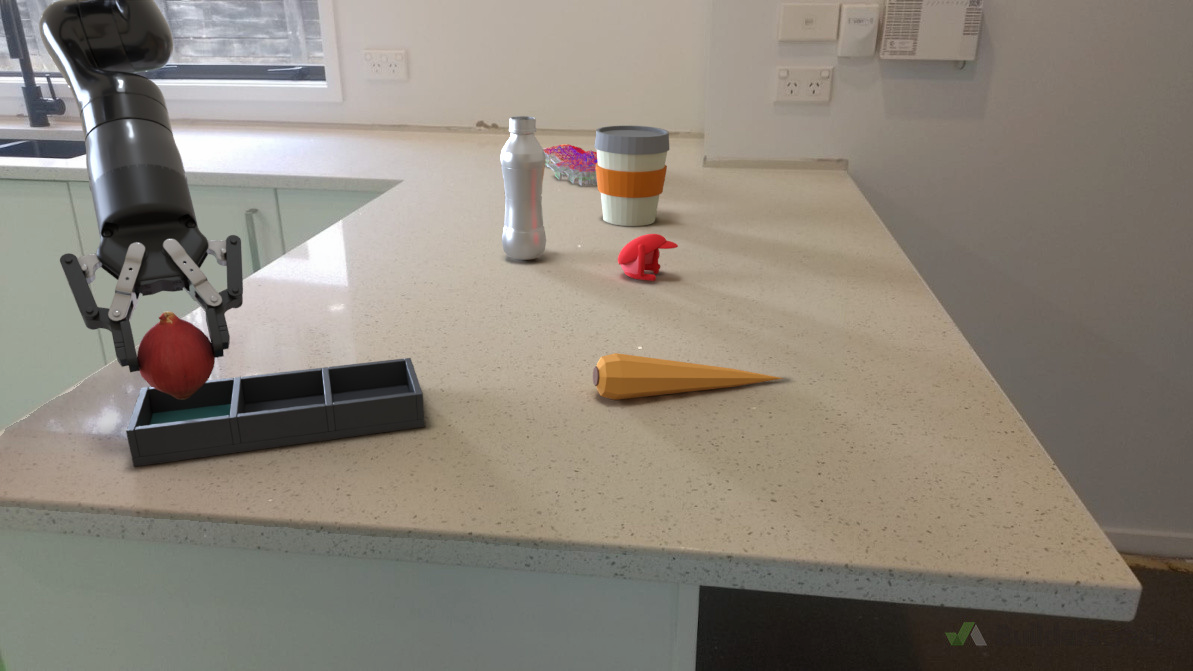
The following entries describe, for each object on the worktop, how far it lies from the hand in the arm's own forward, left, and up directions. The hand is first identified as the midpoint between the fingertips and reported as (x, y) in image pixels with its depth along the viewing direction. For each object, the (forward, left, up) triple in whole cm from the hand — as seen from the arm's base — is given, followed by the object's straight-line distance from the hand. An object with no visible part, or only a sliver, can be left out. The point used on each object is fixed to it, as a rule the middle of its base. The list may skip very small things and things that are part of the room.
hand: (177, 360), depth 68 cm
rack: (+7, +2, -8) cm, 11 cm away
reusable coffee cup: (+63, +62, -8) cm, 89 cm away
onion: (0, +2, -4) cm, 5 cm away
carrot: (+45, -3, -8) cm, 46 cm away
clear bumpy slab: (+67, +102, -8) cm, 122 cm away
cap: (+54, +32, -8) cm, 63 cm away
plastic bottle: (+40, +45, -8) cm, 61 cm away
